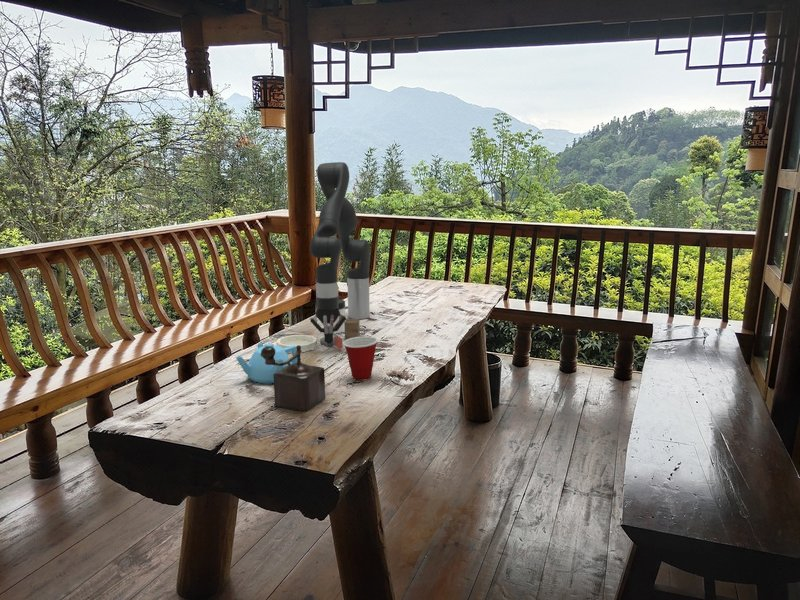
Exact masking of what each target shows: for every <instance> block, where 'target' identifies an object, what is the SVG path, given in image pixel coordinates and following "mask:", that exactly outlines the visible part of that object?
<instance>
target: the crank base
mask: <svg viewBox="0 0 800 600" xmlns="http://www.w3.org/2000/svg"><path fill="white" fill-rule="evenodd" d="M333 327H334V325H333ZM328 332H329V324H328ZM319 344H321V346H322V345H324V346H323V347H334V346H333V345H335V343H334V338H333V342H331V344H327V342H325V340H324V337H321V338H320V339H319Z"/></svg>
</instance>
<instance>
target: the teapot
mask: <svg viewBox="0 0 800 600" xmlns="http://www.w3.org/2000/svg"><path fill="white" fill-rule="evenodd" d="M267 346H270V347H274V349H275V351H276V352H275V355H274V359H275V360H276V361H275V363H282V362H285V361H287V360H289V359H290V358H291V357H290V356H289V355H288V354H290V353H289V352H291V351H292V353H291V354H292V357H293V356H294V355H295V354H296V351H297V348H296V346H295V345H293V346H290V347H287V348H284V349H283V348H282V347H279V346H277V345H274V343H273V342H272V343H271V342H268V343H265V344H263V343H262V342H260V343H259V342H258V343H257V348H255V351H254V352H253V353H252V355H251V357H250V359H249V360H248V363H247V362H246V360H245V359H244V358H243V356H242V355H239V356H236V357H235V359H236V361H237V362H238V364H239V365H240V367H241V369H242V370H243V372H244V373H245V375H247V377H248V378H249V379H250V380H252V382H253V383H256V382H258V383H257V384H261V383H263V385H268V384H269V385H271V384H272V383H273V384H274V376H273V375H274V373H276V372H278V371H280V370H282V368H283V367H285V366H287V365H288V364H286V365H282V366H275V365H266V364H265V359H264V358H263V357H261V350H262V349H263V348H264V347H267ZM296 362H297V358H295V359H294V360H293V361H291V362H290V364H293V363H296ZM273 384H272V385H273Z"/></svg>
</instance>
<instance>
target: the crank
mask: <svg viewBox="0 0 800 600" xmlns="http://www.w3.org/2000/svg"><path fill="white" fill-rule="evenodd" d="M333 338H334V343H335V346H334V347H335V348H336V349H338V350H342V349H344V345H343V342H344V341H343V338H342V337H340V336H339V335H338V334H335V333H333Z"/></svg>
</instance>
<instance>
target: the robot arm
mask: <svg viewBox="0 0 800 600" xmlns="http://www.w3.org/2000/svg"><path fill="white" fill-rule="evenodd" d="M316 177H317V180H318V183H319V187H320V189H321V191H322V193H323V196H324V197H325V200H326V202H325V203H324V205H323V206H322V207H321V209H320V212H319V215H318V216H319V218H318V225H317V228H316V230H315V232H314V234H313V236H312V238H311V241H310V243H309V253H310V255H311V256H312V257H314V258H316V259H323V258H324V259H330V260H329V262H327V263H323V264H319V265H317V266H316V269H315V274H316V276H315V277H316V285H315V286H316V287H315V293H316V295H315V296H316V299H315V300H316V301H315V302H316V311H315V315H313V316H312V317H310V318H309V320H310V323H312V325H313V326H314V328H315V329H317V331H318V332H320V333H322V334H324V336H323V338H324V340H325V342H327V344H331V342H333V332H335V331H338V329H339V328H340V327H341V325H342V324H343V323H344V321H346V319H347V317H348V319H359V320H364V319H368V318H370V314H371V313H370V256H371V255H370V252H371V251H370V250H371V248H370V243H369V241H368V240H367V239H351V238H350V236H351V234H352V232H354V230H355V228H356V225H357V223H358V217H357V214H356V211H355V210H356V209H355V207H354V205H353V203H352V202H351V201H350V200H348V199H347V198H346V194H347V191H348V188H349V184H350V171H349V166H348V164H347V163H346V162H340V161H339V162H338V161H337V162H325V163H321V164H319V165H318V167H317V169H316ZM337 234H338V237H335V236H336V235H337ZM341 252H342V255H343V258H344V260H345V261H347V262H352V263H353V262H355V263H356V262H357V263H359V262H360V263H359V266H357V267H354V268H351V269H348V271H347V273H346V276H347V277H346V280H347V281H346V282H347V315H348V316H347V317H346V315H345V316H344V315H341V314H340V311H339V307H338V299H339V286H338V265H339V263H338V262H339V259H340V255H341ZM338 317H339V318H338ZM337 318H338V319H339V321H338V322H337V324H336V325H335V326H334V327H333V325H334V322H335V321H336V320H337ZM318 320H319V321H320V323H321V324H322V327H321V325H320V324H319V323H318ZM328 323H329V332H328V325H327V324H328Z"/></svg>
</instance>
